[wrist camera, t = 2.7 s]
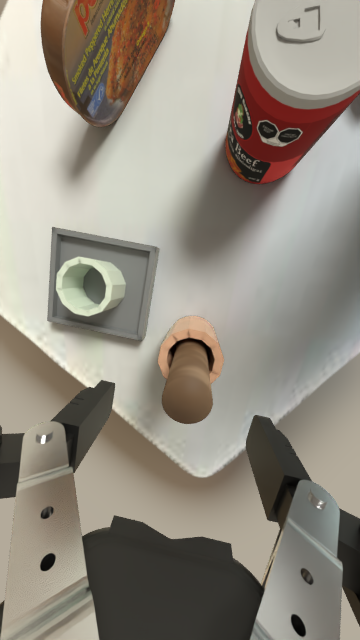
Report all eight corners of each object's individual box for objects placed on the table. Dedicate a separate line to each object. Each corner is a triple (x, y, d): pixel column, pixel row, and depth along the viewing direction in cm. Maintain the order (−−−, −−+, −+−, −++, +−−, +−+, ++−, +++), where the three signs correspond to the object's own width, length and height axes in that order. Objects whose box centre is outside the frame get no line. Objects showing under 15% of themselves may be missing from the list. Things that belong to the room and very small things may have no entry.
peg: (207, 330, 25) (218, 384, 12) (202, 354, 26) (206, 428, 13) (182, 325, 25) (166, 373, 13) (177, 349, 26) (158, 417, 13)
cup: (220, 321, 25) (229, 337, 18) (210, 365, 26) (214, 395, 20) (173, 311, 25) (164, 323, 19) (165, 355, 27) (154, 382, 20)
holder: (128, 266, 24) (114, 263, 20) (122, 313, 25) (108, 320, 21) (80, 256, 24) (58, 252, 20) (76, 304, 25) (54, 309, 21)
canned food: (213, 126, 21) (230, -28, 11) (290, 85, 20) (397, -138, 9) (238, 200, 22) (276, 129, 12) (312, 165, 21) (431, 50, 10)
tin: (104, 146, 23) (50, 71, 14) (80, 127, 22) (13, 40, 14) (187, -4, 19) (180, -211, 11) (160, -27, 19) (133, -255, 11)
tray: (159, 249, 24) (156, 246, 22) (145, 336, 26) (141, 340, 25) (62, 230, 25) (52, 226, 23) (57, 318, 27) (47, 320, 25)
